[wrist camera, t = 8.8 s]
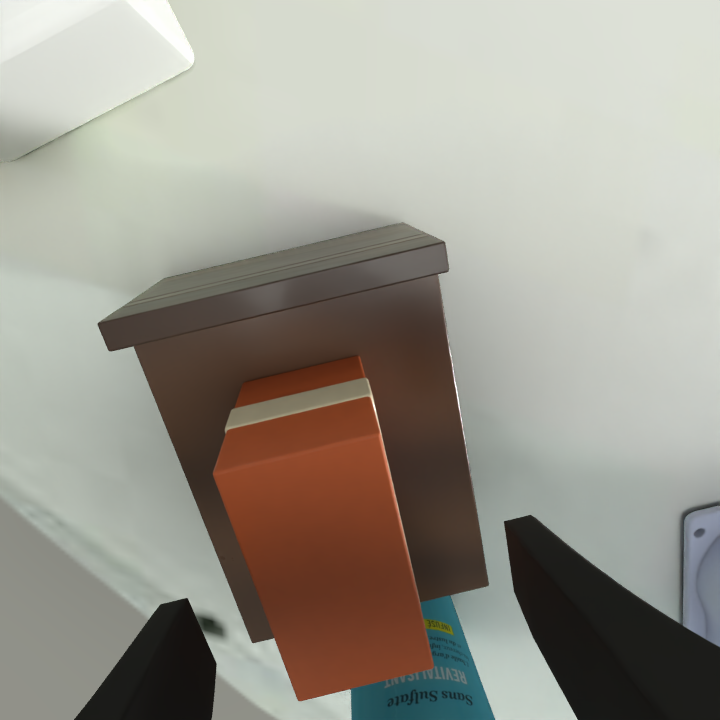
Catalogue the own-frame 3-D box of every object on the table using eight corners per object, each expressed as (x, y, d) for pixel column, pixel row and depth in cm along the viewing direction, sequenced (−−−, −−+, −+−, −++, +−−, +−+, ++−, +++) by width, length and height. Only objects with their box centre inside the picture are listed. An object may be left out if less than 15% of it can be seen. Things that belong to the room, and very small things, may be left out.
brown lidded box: (456, 511, 23) (504, 619, 17) (262, 558, 23) (247, 682, 17) (404, 221, 18) (445, 240, 13) (162, 278, 18) (96, 323, 13)
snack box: (403, 539, 18) (437, 670, 13) (300, 564, 18) (296, 705, 13) (360, 352, 15) (382, 430, 10) (239, 380, 15) (207, 472, 10)
